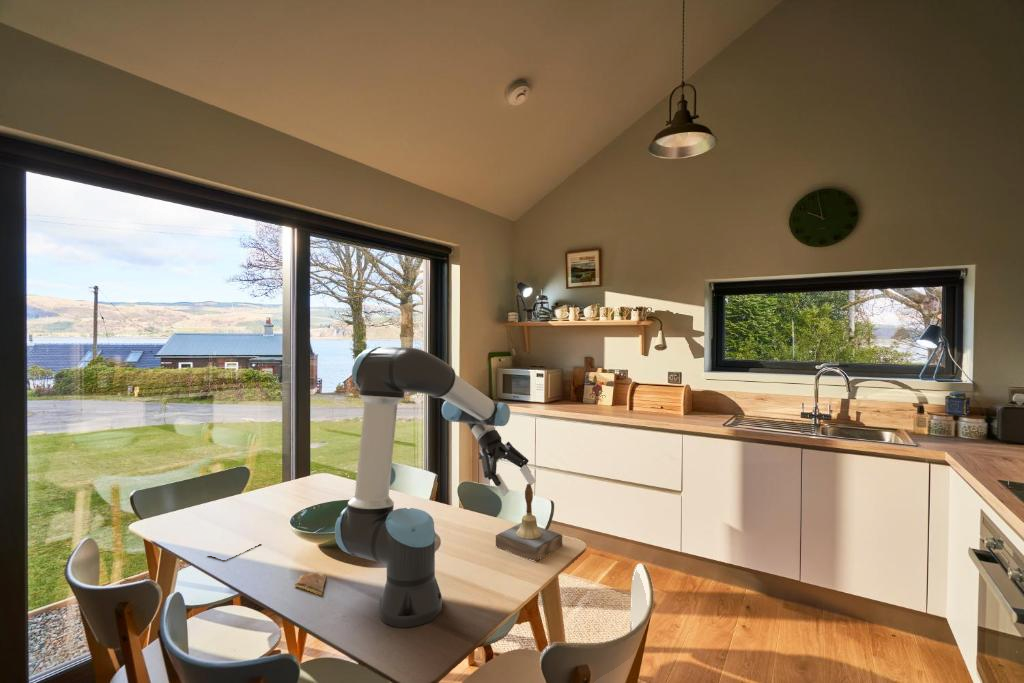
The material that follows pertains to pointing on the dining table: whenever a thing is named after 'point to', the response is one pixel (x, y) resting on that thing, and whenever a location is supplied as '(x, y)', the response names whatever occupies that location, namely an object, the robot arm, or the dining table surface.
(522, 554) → the walnut stand
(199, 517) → the dining table surface
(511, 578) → the dining table surface
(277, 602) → the dining table surface
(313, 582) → the shard
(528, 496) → the hand bell
